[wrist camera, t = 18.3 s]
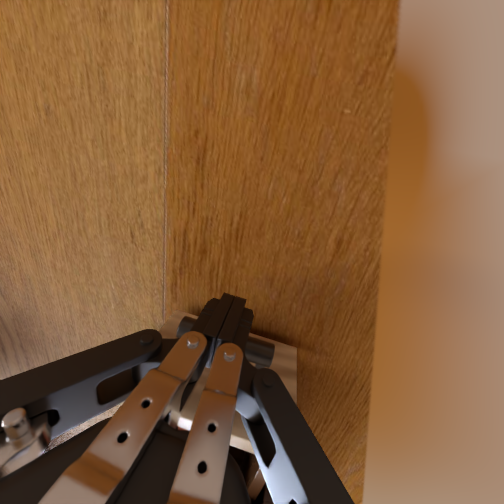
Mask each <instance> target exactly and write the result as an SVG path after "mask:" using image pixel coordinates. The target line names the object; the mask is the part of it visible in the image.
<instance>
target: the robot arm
mask: <svg viewBox="0 0 504 504" xmlns="http://www.w3.org/2000/svg"><path fill="white" fill-rule="evenodd" d="M246 300H247V299H243V298H240V297H237V296H236V297H235V296H234V295H230V294H227V293H224V294H223V295H222V297H221V299H220V300H219V299H216V298H213V299H211V300H210V301H208V302H207V304H206V305H205V307H204V309H203V310H202V312H201V313H200V315H199V317H198V318H197V320H196V322H195V323H194V325H193V326H192V328H191V330H190V331H189V332H187V333H185V334H183V335H182V336H181V337H180V338H175V339H168V338H162V335H161V333H160V332H158V331H156V330H153V329H146V330H142V331H139V332H136V333H133V334H131V335H128V336H125V337H122V338H119V339H116V340H114V341H111V342H108V343H105V344H102V345H99V346H97V347H94V348H91V349H88V350H85V351H82V352H79V353H77V354H74V355H71V356H68V357H65V358H62V359H60V360H57V361H54V362H51V363H48V364H45V365H43V366H40V367H37V368H34V369H31V370H28V371H26V372H23V373H20V374H17V375H14V376H11V377H9V378H6V379H3V380H0V504H251V500H250V497H249V494H248V490H247V487H246V484H245V480H244V477H243V475H242V472H241V470H240V468H239V466H238V464H237V462H236V461H235V459H234V458H233V457H232V455H231V454H230V453H229V452H228V451H229V445H230V439H231V433H232V427H233V421H234V415H235V410H237V411H238V412H239V413H240V414H241V419H242V422H243V424H244V427H245V430H246V432H247V435H248V437H249V440H250V443H251V445H252V448H253V450H254V453H255V456H256V458H257V461H258V464H259V466H260V469H261V471H262V474H263V477H264V479H265V482H266V484H267V487H268V490H269V492H270V495H271V497H272V500H273V503H274V504H354V502H353V500H352V499H351V497H350V495H349V494H348V492H347V490H346V489H345V487H344V485H343V484H342V482H341V480H340V478H339V477H338V475H337V473H336V472H335V470H334V468H333V467H332V465H331V463H330V461H329V460H328V458H327V456H326V455H325V453H324V451H323V450H322V448H321V446H320V444H319V443H318V441H317V439H316V438H315V436H314V434H313V433H312V431H311V429H310V427H309V426H308V424H307V422H306V421H305V419H304V417H303V416H302V414H301V412H300V410H299V409H298V407H297V405H296V404H295V402H294V400H293V399H292V397H291V395H290V394H289V392H288V390H287V388H286V387H285V385H284V383H283V382H282V380H281V378H280V377H279V375H278V374H277V373H276V372H275V371H273V370H272V369H269V368H260V369H257V368H256V367H254V366H253V365H252V364H251V363H250V362H249V361H248V360H247V358H246V355H245V348H246V344H247V340H248V336H249V333H250V329H251V325H252V321H253V318H254V315H253V311H252V310H251V309H248V308H245V304H246ZM211 363H212V365H211ZM210 366H211V369H210V372H209V375H208V378H207V381H206V384H205V387H204V389H203V391H202V394H201V397H200V400H199V404H198V407H197V410H196V413H195V416H194V419H193V422H192V425H191V429H190V431H189V430H176V427H177V425H178V422H179V419H180V417H181V415H182V413H183V411H184V409H185V407H186V405H187V403H188V401H189V399H190V397H191V396H192V394H193V392H194V390H195V388H196V386H197V384H198V382H199V380H200V377H201V375H202V373H203V370H204V368H205V367H207V368H210ZM122 402H124V403H123V404H122V405H121V406H120V408H119V409H118V410H117V411H116V413H115V414H114V415H113V417H110V418H107V419H105V420H102V421H100V422H98V423H96V424H95V425H93V426H91V427H89V428H88V429H86V430H84V431H83V432H81V433H79V434H77V435H76V436H74V437H72V438H70V439H69V440H67V441H65V442H64V443H62V444H60V445H58V446H57V447H55V448H53V449H51V450H50V451H48V452H46V453H45V454H43V455H41V454H42V453H43V452H44V451H45V450H46V448H47V447H48V445H49V443H50V441H51V440H52V439H54V438H56V437H57V436H59V435H61V434H63V433H65V432H67V431H69V430H71V429H73V428H75V427H76V426H78V425H80V424H82V423H84V422H86V421H88V420H90V419H92V418H93V417H95V416H97V415H99V414H101V413H103V412H105V411H107V410H109V409H111V408H112V407H114V406H116V405H118V404H120V403H122ZM40 455H41V456H40Z"/></svg>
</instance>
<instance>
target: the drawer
mask: <svg viewBox="0 0 504 504" xmlns="http://www.w3.org/2000/svg"><path fill="white" fill-rule="evenodd" d="M198 317H199V316H195V315H192V314H189V313H186V312H183V311H180V310H175V312H174V313H173V314H172V315H171V317H170V318H169V319H168V320H167V322H166V323H165V324H164V325H163V327H162V328H161V329H160V331H159V332H160V333H161V335H162V338H168V339H175V338H180V337H181V336H182V335H183V334H185V333H187V332H189V331H190V330H191V328H192V326H193V325H194V323H195V322H196V320H197V318H198ZM245 355H246V358H247V360H248V361H249V362H250V363H251V364H252V365H253V366H254V367H256V368H257V369H260V368H269V369H272V370H273V371H275V372H276V373H277V374H278V375H279V377H280V378H281V380H282V382H283V383H284V385H285V387H286V388H287V390H288V392H289V394H290V395H291V397H292V399H293V400H294V402H295V404H296V405H297V348H296V347H293V346H290V345H286V344H283V343H280V342H277V341H274V340H271V339H268V338H264V337H261V336H258V335H255V334H252V333H249V336H248V340H247V344H246V348H245ZM211 365H212V363H211ZM210 369H211V366H210V368H207V367H205V368H204V370H203V373H202V375H201V377H200V380H199V382H198V384H197V386H196V388H195V390H194V392H193V394H192V396H191V397H190V399H189V401H188V403H187V405H186V407H185V409H184V411H183V413H182V415H181V417H180V419H179V422H178V425H177V427H176V430H178V427H181V428H184V429H186V430H189V431H190V429H191V425H192V422H193V419H194V416H195V413H196V410H197V407H198V404H199V400H200V397H201V394H202V391H203V389H204V387H205V384H206V381H207V378H208V375H209V372H210ZM123 403H124V402H122V403H120V404H118V405H120V406H121V405H122V404H123ZM228 452H229V453H230V454H231V455H232V457H233V458H234V459H235V461H236V462H237V464H238V466H239V468H240V470H241V472H242V475H243V477H244V480H245V484H246V487H247V490H248V494H249V497H250V500H251V504H253V503H254V502H255V500H256V498H257V496H258V495H259V493H260V491H261V489H262V488H263V486H264V484H265V483H266V482H265V479H264V477H263V474H262V471H261V469H260V466H259V464H258V461H257V458H256V456H255V453H254V450H253V448H252V445H251V443H250V440H249V437H248V435H247V432H246V430H245V427H244V424H243V422H242V419H241V414H240V413H239V412H238V411H237V410H235V415H234V421H233V427H232V433H231V439H230V445H229V451H228Z"/></svg>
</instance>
